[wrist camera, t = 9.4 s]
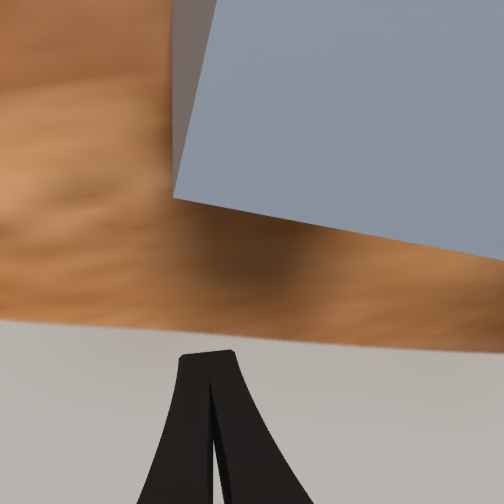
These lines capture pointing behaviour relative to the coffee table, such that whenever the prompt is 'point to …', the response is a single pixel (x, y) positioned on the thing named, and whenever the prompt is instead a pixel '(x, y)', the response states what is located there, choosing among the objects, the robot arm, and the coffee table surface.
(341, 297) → the coffee table surface
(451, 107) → the domino
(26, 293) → the coffee table surface
